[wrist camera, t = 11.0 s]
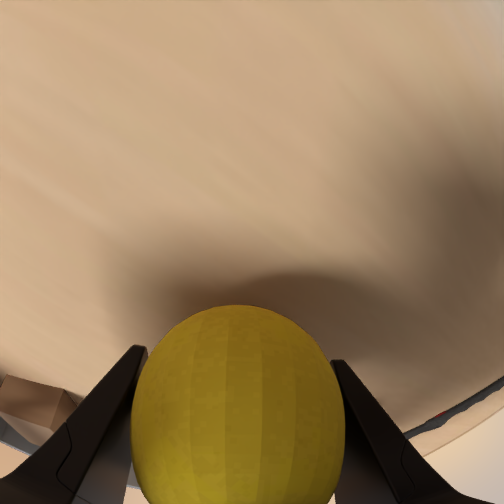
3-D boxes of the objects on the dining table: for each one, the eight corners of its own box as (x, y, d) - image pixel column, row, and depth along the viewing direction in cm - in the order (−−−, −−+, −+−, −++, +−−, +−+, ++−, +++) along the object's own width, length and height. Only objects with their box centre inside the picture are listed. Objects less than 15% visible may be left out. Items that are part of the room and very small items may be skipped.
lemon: (345, 270, 10) (424, 533, 3) (287, 371, 13) (303, 556, 6) (169, 231, 9) (80, 540, 2) (155, 349, 12) (119, 544, 5)
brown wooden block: (64, 386, 15) (49, 428, 12) (95, 424, 17) (86, 460, 15) (7, 371, 14) (-9, 407, 12) (41, 410, 17) (30, 442, 15)
